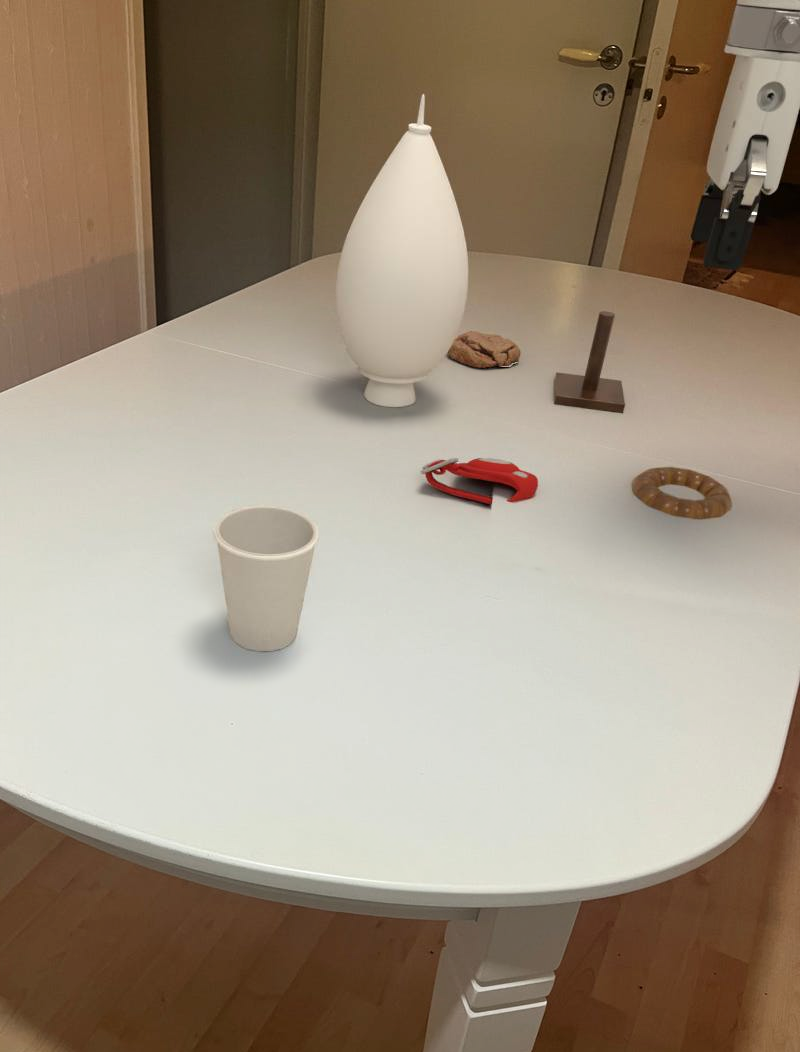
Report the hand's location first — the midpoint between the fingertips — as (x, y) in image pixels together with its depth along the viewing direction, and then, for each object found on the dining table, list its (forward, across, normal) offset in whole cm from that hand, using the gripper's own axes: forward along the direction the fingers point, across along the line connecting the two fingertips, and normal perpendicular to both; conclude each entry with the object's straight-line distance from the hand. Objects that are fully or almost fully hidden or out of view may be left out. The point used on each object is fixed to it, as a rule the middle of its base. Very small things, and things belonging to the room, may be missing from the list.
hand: (713, 254), depth 88 cm
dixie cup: (+27, -34, +34) cm, 55 cm away
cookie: (+27, +42, +20) cm, 54 cm away
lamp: (+27, +22, +31) cm, 47 cm away
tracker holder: (+27, 0, +18) cm, 32 cm away
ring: (+25, +2, -4) cm, 26 cm away
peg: (+27, +32, +5) cm, 42 cm away
